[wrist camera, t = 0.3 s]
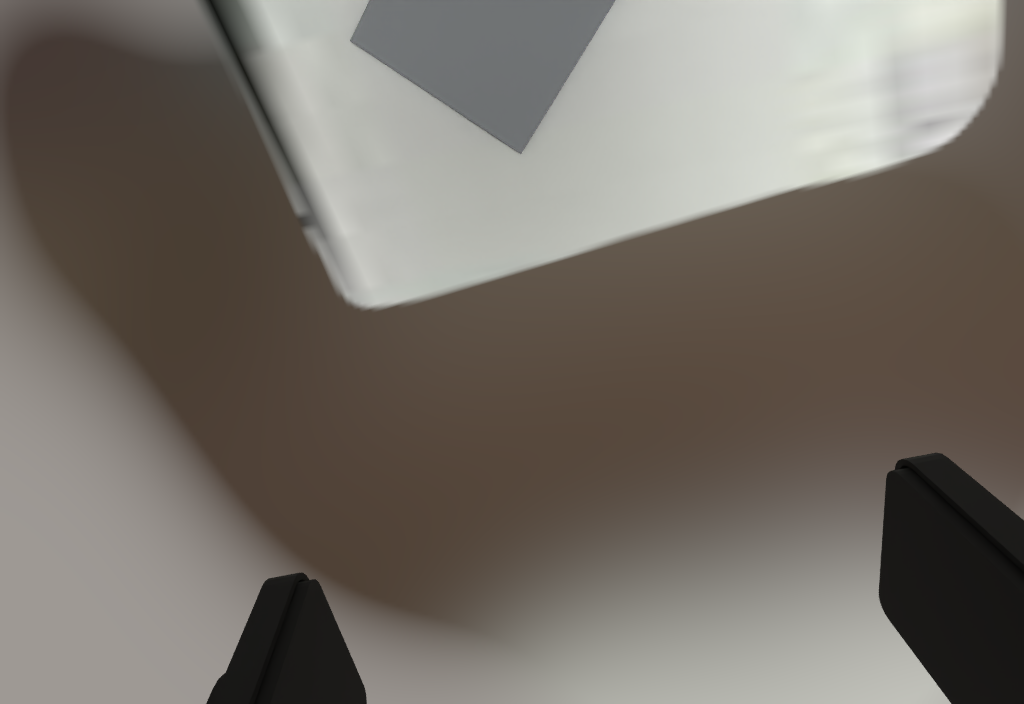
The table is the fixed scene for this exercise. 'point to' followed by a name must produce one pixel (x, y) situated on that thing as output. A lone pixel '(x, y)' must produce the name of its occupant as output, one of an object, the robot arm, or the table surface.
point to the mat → (484, 54)
